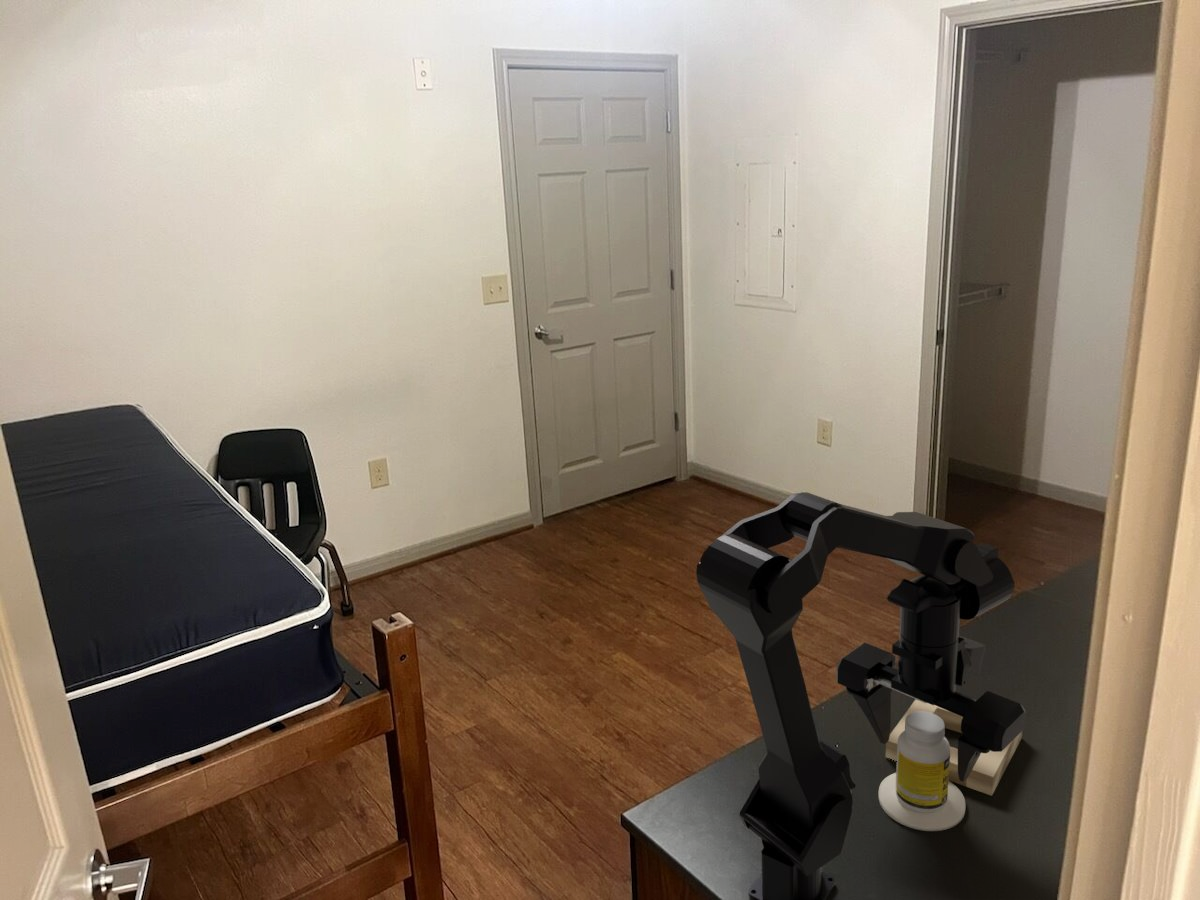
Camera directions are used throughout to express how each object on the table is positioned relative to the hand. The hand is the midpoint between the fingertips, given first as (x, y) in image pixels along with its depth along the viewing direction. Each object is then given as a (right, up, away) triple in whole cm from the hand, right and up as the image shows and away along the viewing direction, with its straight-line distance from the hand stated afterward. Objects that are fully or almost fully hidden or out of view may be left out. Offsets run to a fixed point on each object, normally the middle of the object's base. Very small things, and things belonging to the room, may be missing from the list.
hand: (922, 760), depth 97 cm
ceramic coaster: (0, -5, +2) cm, 6 cm away
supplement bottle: (0, -5, +2) cm, 5 cm away
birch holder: (+7, -2, +10) cm, 12 cm away
